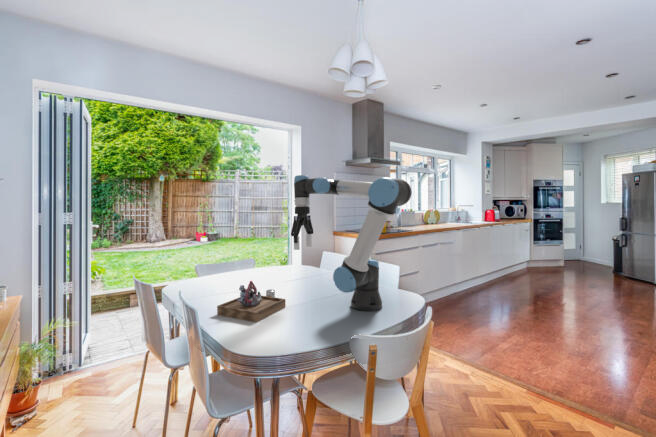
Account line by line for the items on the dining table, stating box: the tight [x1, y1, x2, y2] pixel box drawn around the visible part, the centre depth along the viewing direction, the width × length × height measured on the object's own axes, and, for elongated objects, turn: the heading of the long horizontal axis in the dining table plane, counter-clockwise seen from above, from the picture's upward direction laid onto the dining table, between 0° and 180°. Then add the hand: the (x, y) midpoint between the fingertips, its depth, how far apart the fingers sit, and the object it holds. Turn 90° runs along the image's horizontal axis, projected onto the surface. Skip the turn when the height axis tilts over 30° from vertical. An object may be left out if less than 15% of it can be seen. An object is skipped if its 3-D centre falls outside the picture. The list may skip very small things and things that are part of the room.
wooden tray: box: [216, 295, 286, 323], centre depth 151 cm, size 22×22×4 cm
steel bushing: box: [265, 289, 276, 298], centre depth 167 cm, size 4×4×5 cm
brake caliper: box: [236, 280, 262, 306], centre depth 151 cm, size 11×11×12 cm
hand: (303, 248), depth 164 cm, fingers open, 13 cm apart
